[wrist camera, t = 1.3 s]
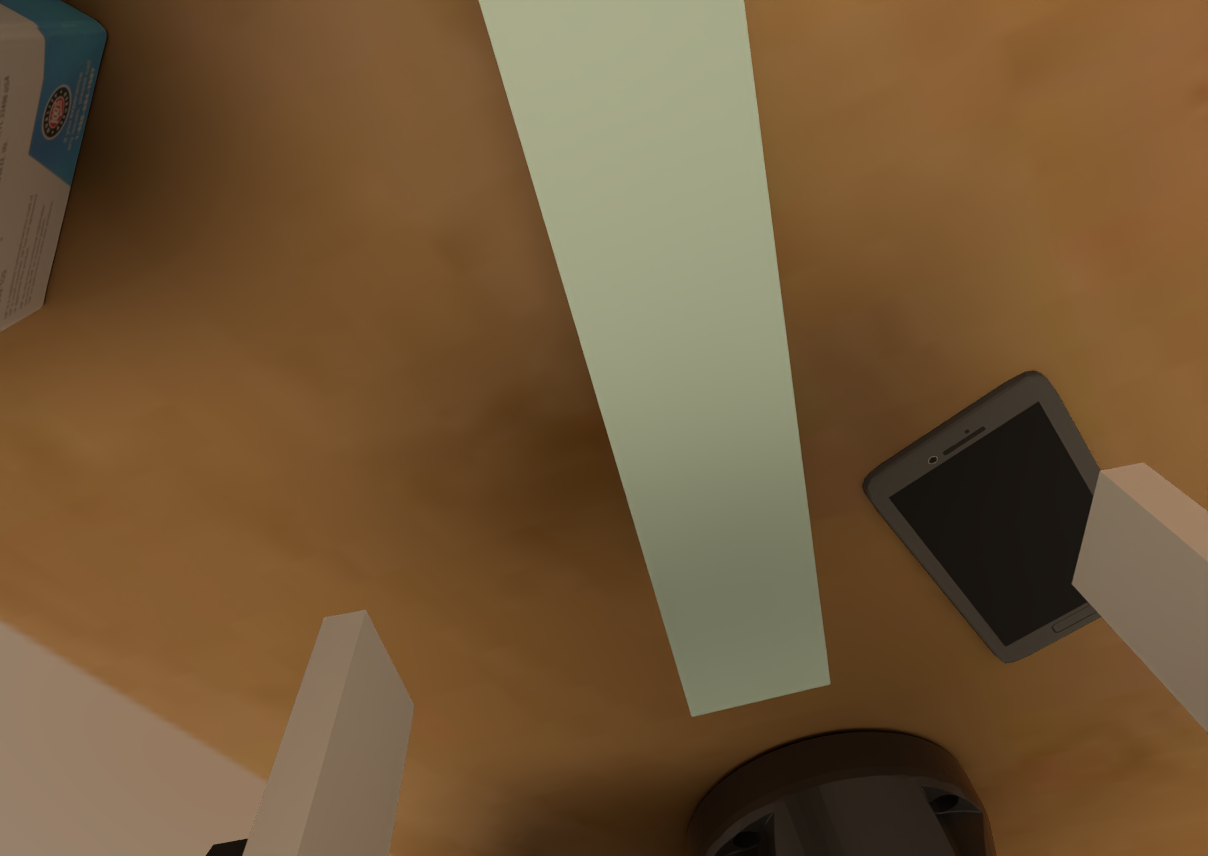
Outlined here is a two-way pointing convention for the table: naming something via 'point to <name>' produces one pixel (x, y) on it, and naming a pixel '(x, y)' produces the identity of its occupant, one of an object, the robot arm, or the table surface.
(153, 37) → the table surface
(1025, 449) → the cell phone
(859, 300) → the table surface
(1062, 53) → the table surface
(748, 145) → the sage green box
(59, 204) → the ink box
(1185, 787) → the table surface
